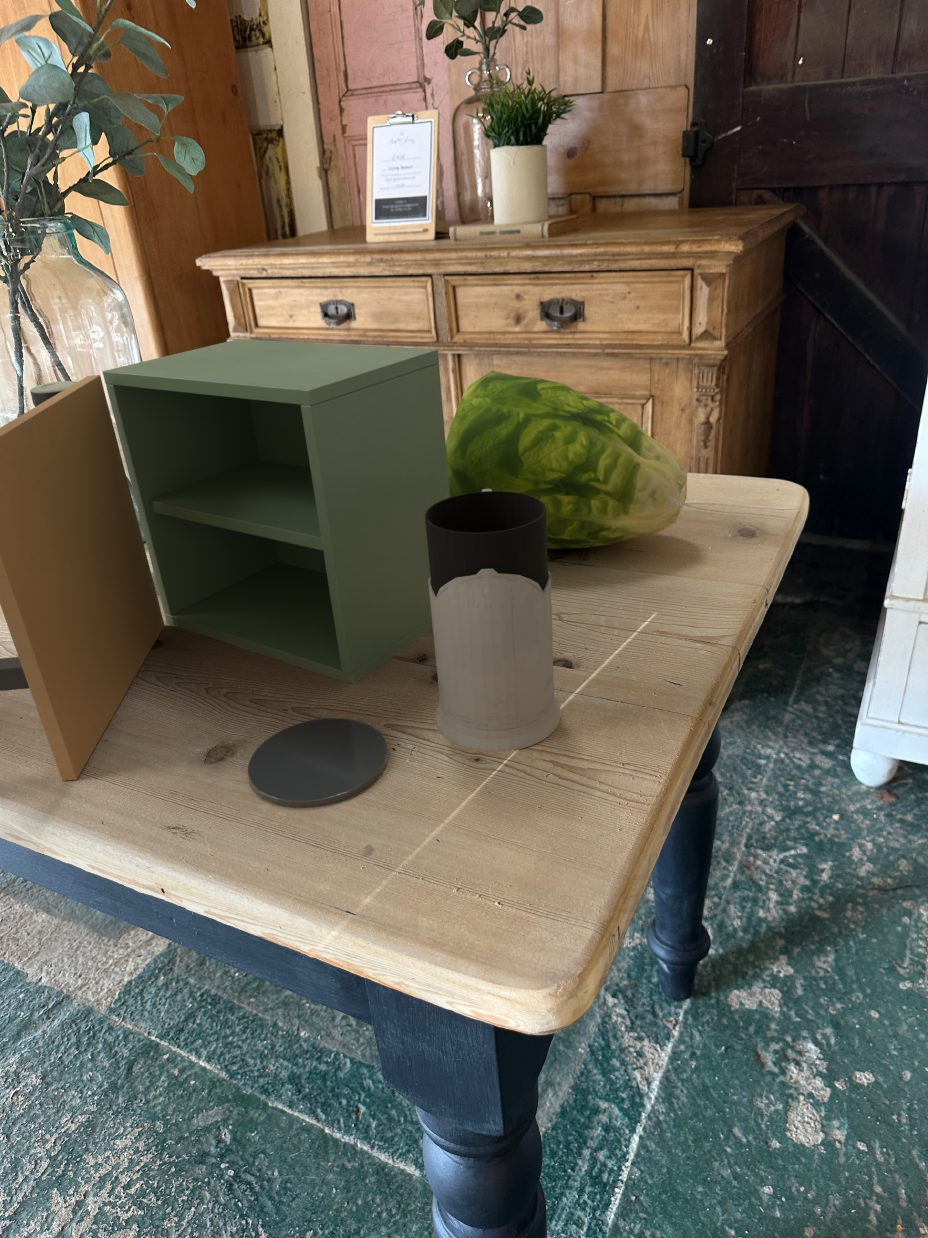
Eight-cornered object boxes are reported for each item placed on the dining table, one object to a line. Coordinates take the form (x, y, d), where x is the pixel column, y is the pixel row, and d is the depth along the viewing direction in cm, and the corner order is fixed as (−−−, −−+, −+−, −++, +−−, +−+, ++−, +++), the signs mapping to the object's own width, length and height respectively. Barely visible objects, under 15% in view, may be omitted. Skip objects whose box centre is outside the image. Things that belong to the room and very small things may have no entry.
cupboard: (353, 685, 65) (308, 390, 55) (166, 623, 76) (101, 371, 66) (459, 610, 75) (438, 349, 65) (280, 565, 86) (238, 338, 76)
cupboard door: (-36, 789, 56) (-170, 467, 46) (81, 632, 76) (4, 382, 66) (77, 780, 56) (-34, 456, 46) (164, 625, 76) (100, 374, 66)
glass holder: (431, 755, 56) (408, 541, 49) (441, 649, 69) (425, 467, 62) (566, 749, 56) (561, 532, 49) (551, 643, 68) (546, 459, 62)
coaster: (246, 820, 52) (244, 812, 51) (252, 736, 60) (250, 729, 59) (395, 795, 53) (394, 787, 53) (381, 716, 61) (380, 709, 60)
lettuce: (659, 607, 86) (683, 536, 71) (436, 559, 90) (413, 482, 75) (690, 465, 91) (718, 370, 76) (477, 426, 96) (464, 328, 80)
